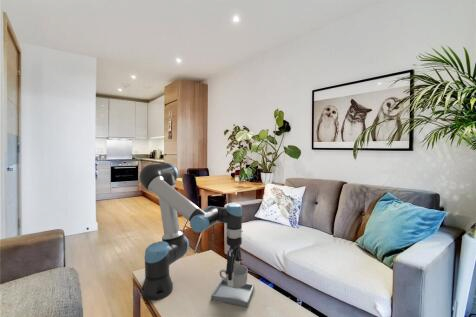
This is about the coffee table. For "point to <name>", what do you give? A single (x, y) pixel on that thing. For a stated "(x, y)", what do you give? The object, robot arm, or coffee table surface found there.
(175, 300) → the coffee table surface
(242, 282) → the teacup
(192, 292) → the coffee table surface
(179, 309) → the coffee table surface
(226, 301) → the tray
